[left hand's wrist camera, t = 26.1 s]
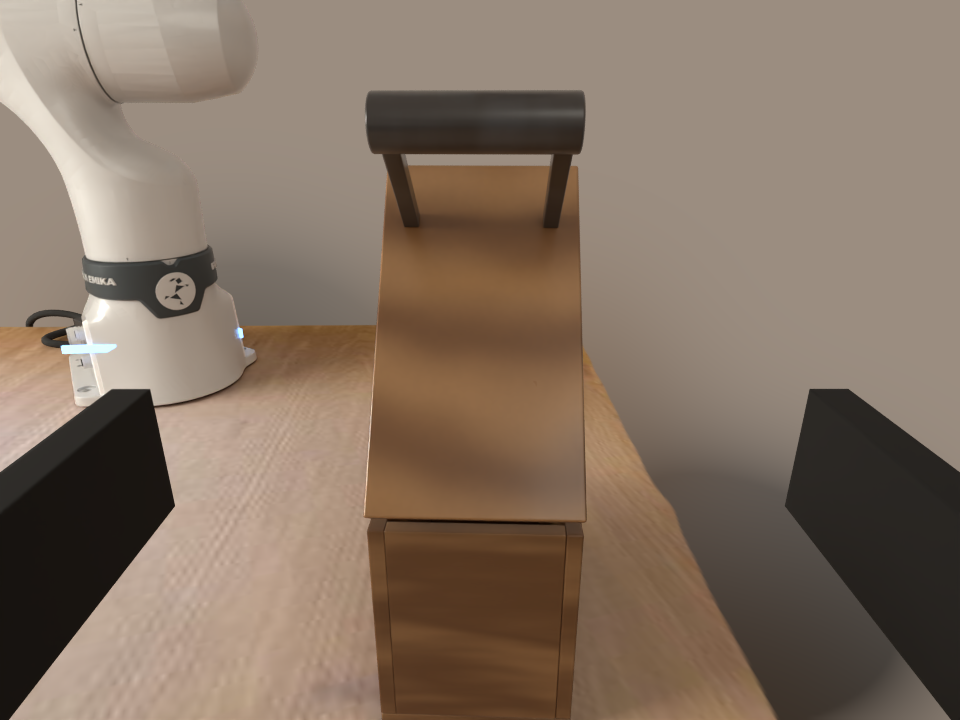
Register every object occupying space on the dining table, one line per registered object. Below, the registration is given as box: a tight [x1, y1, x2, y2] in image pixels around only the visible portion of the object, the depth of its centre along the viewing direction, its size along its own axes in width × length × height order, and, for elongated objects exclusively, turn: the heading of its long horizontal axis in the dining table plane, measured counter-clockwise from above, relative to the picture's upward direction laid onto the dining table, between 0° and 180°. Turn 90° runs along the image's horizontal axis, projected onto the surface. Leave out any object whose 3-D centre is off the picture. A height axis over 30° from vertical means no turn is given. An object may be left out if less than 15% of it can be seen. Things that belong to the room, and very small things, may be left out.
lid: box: [363, 90, 587, 523], centre depth 24 cm, size 16×9×9 cm
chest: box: [367, 519, 584, 720], centre depth 35 cm, size 16×9×11 cm, turn 178°
